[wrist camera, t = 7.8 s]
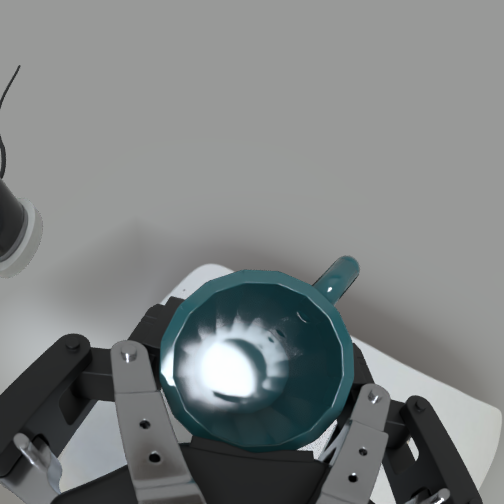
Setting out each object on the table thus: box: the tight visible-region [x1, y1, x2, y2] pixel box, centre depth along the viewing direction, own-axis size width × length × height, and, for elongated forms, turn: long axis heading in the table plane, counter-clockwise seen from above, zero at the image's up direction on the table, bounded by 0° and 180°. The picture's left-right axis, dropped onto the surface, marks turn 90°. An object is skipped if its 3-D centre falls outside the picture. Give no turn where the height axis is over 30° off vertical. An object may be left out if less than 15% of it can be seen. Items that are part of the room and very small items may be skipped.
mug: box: [159, 256, 360, 453], centre depth 12 cm, size 10×6×8 cm
